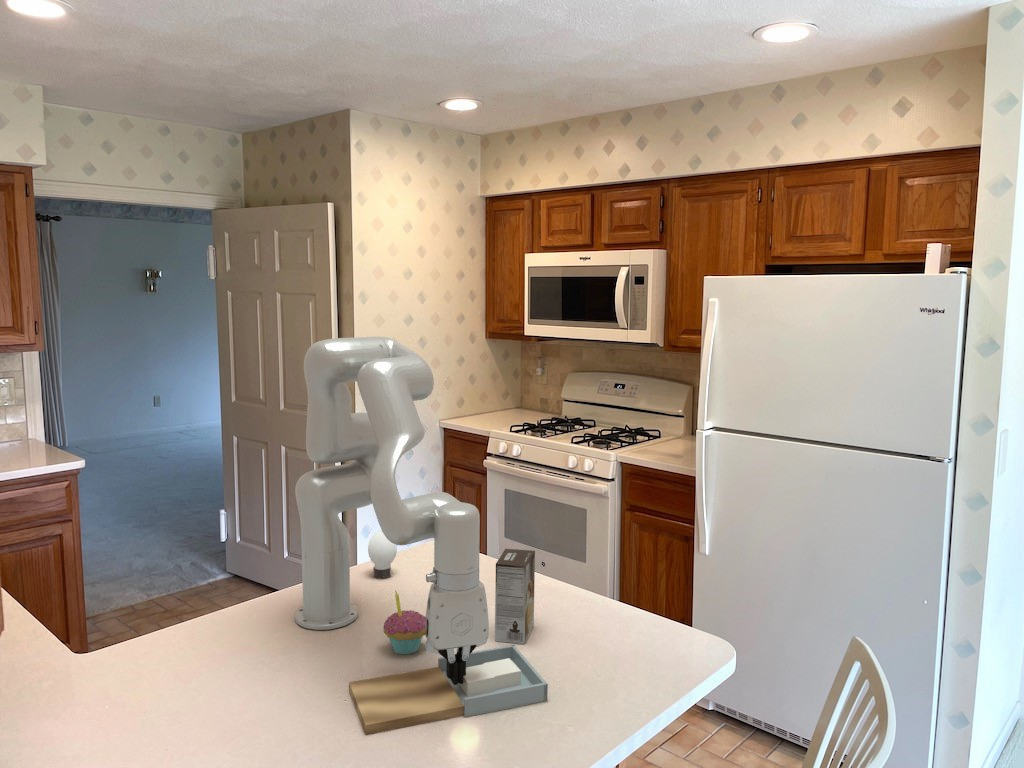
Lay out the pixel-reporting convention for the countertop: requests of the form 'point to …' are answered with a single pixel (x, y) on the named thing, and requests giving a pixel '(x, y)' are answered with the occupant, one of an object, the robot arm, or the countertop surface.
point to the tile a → (478, 680)
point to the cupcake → (405, 629)
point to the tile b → (504, 673)
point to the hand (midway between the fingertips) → (456, 680)
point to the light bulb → (381, 555)
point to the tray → (502, 698)
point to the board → (404, 700)
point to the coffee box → (514, 596)
